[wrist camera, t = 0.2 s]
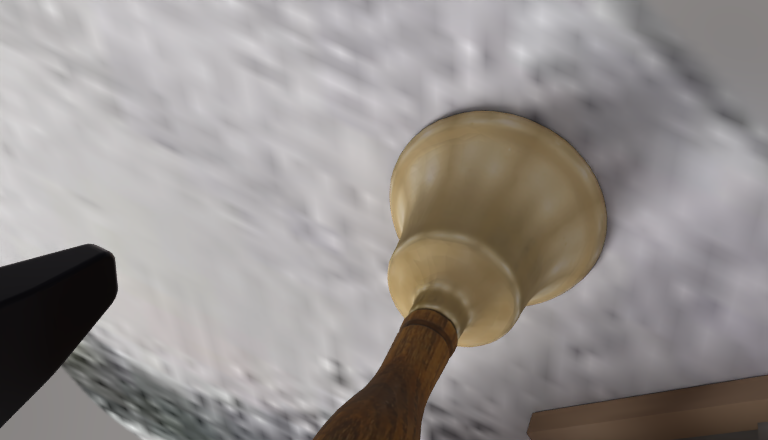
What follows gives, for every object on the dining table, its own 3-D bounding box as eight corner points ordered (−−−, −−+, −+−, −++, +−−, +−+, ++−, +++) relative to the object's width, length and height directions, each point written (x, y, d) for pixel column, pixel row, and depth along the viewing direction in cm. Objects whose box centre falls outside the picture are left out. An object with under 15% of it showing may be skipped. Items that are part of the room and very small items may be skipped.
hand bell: (659, 234, 23) (587, 752, 10) (493, 333, 28) (311, 756, 15) (492, 60, 22) (199, 389, 10) (354, 195, 27) (46, 520, 15)
